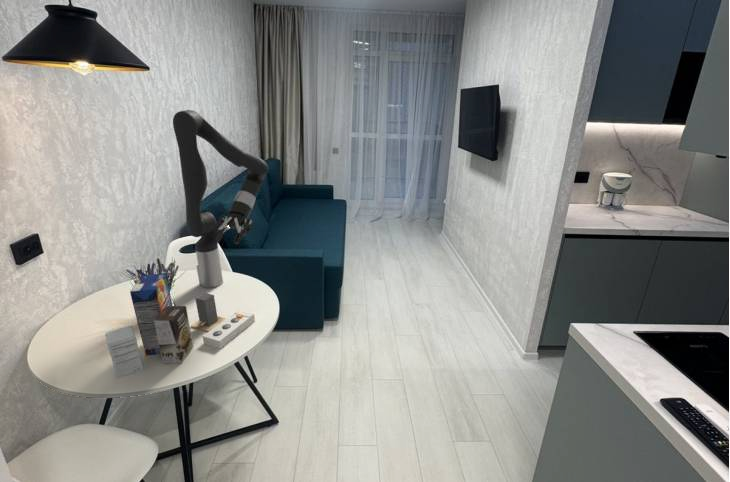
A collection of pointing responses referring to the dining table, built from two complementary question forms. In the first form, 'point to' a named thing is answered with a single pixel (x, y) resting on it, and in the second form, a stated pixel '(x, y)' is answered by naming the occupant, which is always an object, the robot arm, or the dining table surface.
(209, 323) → the block
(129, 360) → the supplement box
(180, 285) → the dining table surface
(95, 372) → the dining table surface
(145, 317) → the cereal box
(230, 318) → the power strip
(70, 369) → the dining table surface
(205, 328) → the coaster
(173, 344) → the coffee box
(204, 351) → the dining table surface
